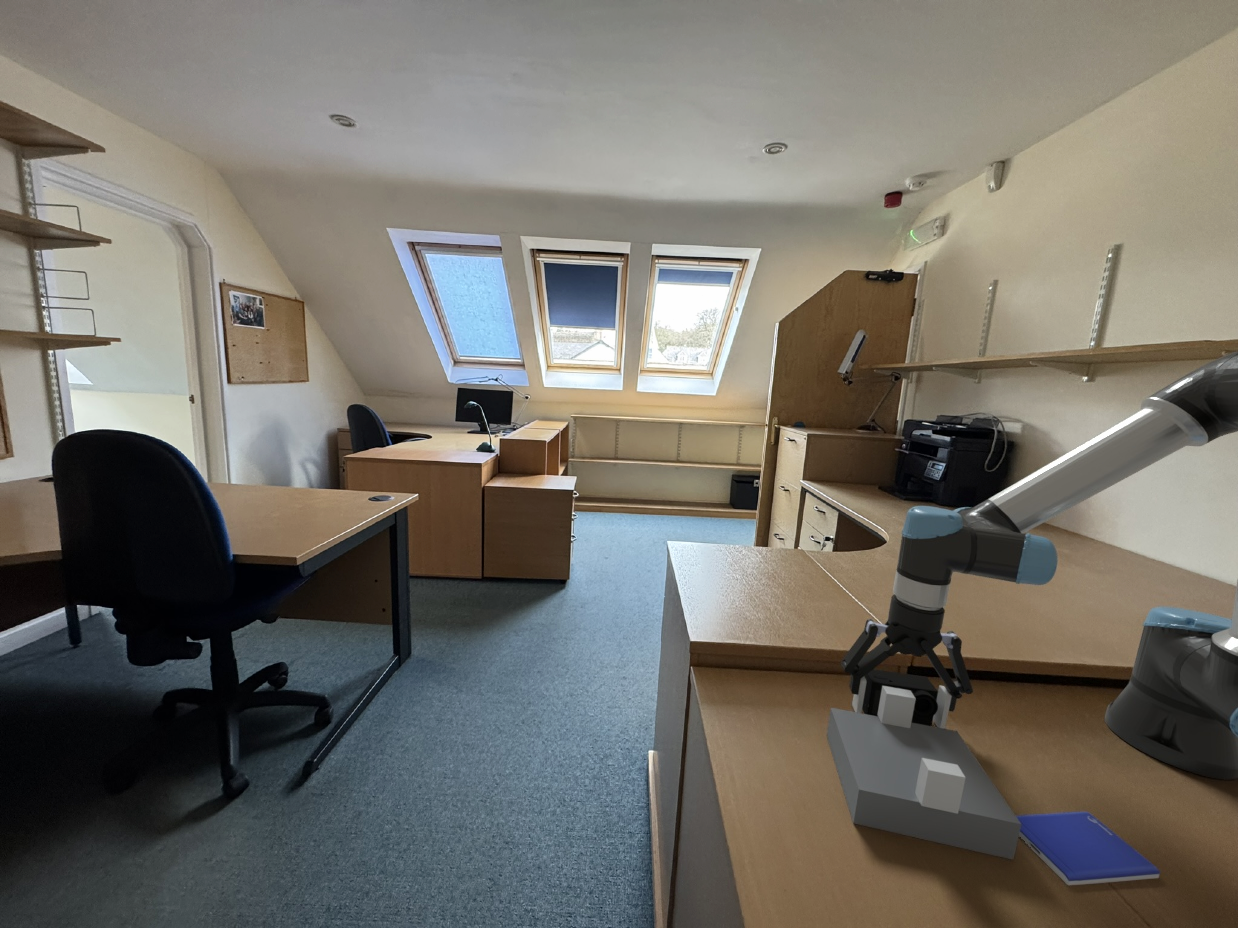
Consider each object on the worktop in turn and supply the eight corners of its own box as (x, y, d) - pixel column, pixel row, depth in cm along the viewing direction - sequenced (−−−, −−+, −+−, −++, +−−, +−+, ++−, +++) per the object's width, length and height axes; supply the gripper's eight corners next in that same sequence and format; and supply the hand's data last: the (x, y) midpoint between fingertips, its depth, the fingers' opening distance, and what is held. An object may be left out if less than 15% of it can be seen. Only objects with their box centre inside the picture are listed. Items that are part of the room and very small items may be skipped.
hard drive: (1085, 809, 64) (1004, 814, 62) (1161, 870, 56) (1070, 877, 54) (1083, 819, 64) (1002, 824, 63) (1157, 881, 56) (1067, 889, 55)
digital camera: (868, 723, 80) (874, 685, 79) (857, 702, 85) (863, 667, 84) (935, 733, 78) (942, 695, 77) (919, 711, 84) (926, 675, 83)
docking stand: (949, 757, 73) (961, 699, 72) (1015, 863, 57) (1032, 790, 55) (825, 733, 77) (834, 677, 75) (854, 826, 60) (866, 757, 59)
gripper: (989, 602, 79) (965, 717, 83) (833, 580, 84) (817, 690, 87) (1016, 623, 72) (988, 748, 75) (844, 598, 77) (826, 717, 80)
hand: (896, 717), depth 81 cm, fingers open, 12 cm apart
